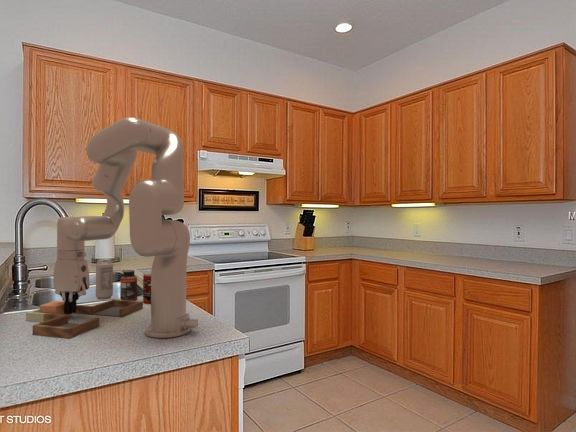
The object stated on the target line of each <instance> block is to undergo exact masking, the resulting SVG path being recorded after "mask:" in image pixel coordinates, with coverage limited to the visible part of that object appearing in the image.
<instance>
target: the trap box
mask: <svg viewBox="0 0 576 432" xmlns="http://www.w3.org/2000/svg"><path fill="white" fill-rule="evenodd" d="M143 309H144V302H143V300H142V301H141V300H140V301H139V300H133V301H129V300H121V299H110V300H106V301H103V302H102V303H98V304H95V305H85V304H84V305H83V304H82V305H81V304H77V306H76V312H75V313H74V314H82V315H94V316H106V317H117V318H123V317H126V316H128V315H130V314H133V313H135V312H138V311H140V310H143ZM25 321H27V322H34V323H35V322H37V324H33V325H32V336H43V337H52V338H62V339H72V338H74V337H76V336H79V335H82V334H84V333H87V332H88V331H91V330H93V329H97V328H99V327H100V317H94V318H93V319H89V320H87V321H83V322H81V323H75V322H69V316H68V315H61V314H49V313H40V308H38V309H34V310H30V311H28V312H27V311H26V312H25ZM38 322H39V323H38Z"/></svg>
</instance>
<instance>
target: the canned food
mask: <svg viewBox="0 0 576 432" xmlns="http://www.w3.org/2000/svg"><path fill="white" fill-rule="evenodd" d="M142 277H143V278H142V281H143V282H142V288H143V289H142V301H143V304H146V305H151V271H146V272H144V273H143V275H142Z"/></svg>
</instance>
